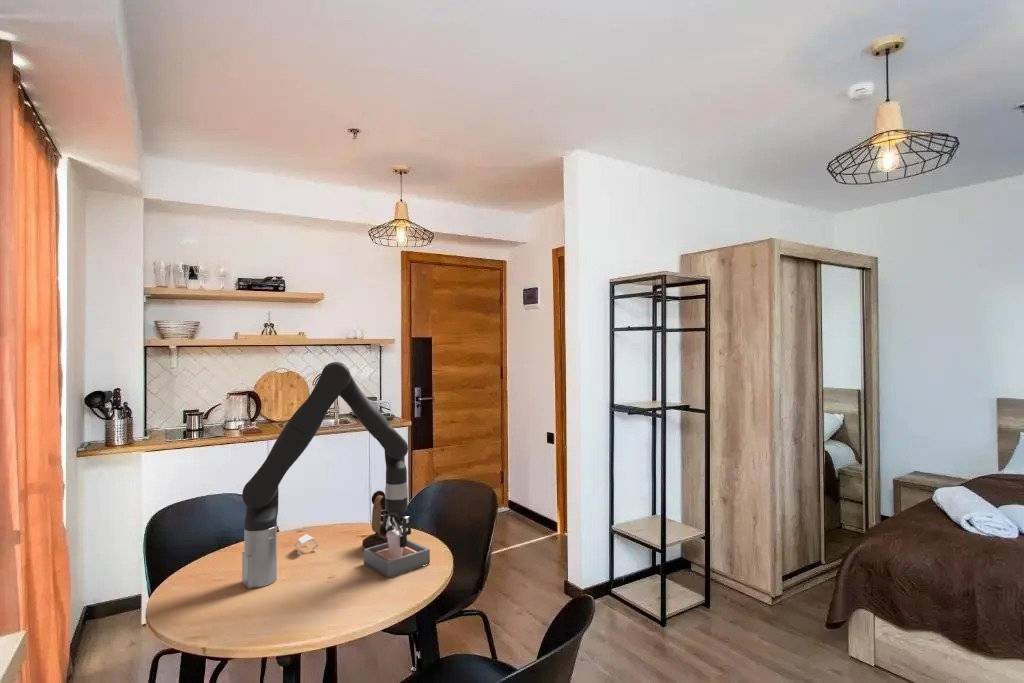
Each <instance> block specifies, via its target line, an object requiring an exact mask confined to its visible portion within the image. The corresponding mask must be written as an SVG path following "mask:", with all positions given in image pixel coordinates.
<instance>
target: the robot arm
mask: <svg viewBox="0 0 1024 683" xmlns="http://www.w3.org/2000/svg"><path fill="white" fill-rule="evenodd" d="M338 397H341V399H342V400H343V401H344V402H345V403H346V404H347V406H348V407H350V409H351V411H352V413H354V415H355V416H356V418H357V419H358V420H359V422H360V423H361V424H362V426H363V427H364V428H365V429H366V431H367V432H368V433H369V434H370V435H371V436H372V437H373V438H374V439H376V440H377V442H378V443H379V444H380V446H382V448H383V451H384V461H385V462H384V463H385V488H384V493H385V510H382V511H383V515H382V516H383V527H385V528H386V530H387V532H388V531H391V530H393V529H392V528H393V527H394V528H395V527H396V529H397V531H399V534H400V547H401V548H403V547H406V546H407V539H408V536H409V535H411V534H412V524H411V520H412V519H411V516H406V514H405V512H406V511H407V510H408V508H409V507H408V506H409V504H408V500H409V499H408V498H409V497H408V496H409V494H408V493H409V492H408V491H409V490H408V478H407V477H408V472H407V466H406V461H405V456H407V454H408V451H409V446H408V445H409V444H408V443H407V441H406V440H405V438H403V436H402V435H401V434H399V433H398V431H397V430H395V428H394V427H393V426H392V425H391V423H390V422H389V420H388V419H387V418H386V417H385V415H384V414H383V413H382V412H381V411H380V410H379V409H378V407H376V405H375V404H374V403H373V402H372V400H370V399H369V398H368V397H367V396H366V395H365V394H364V392H363V391H362V389H360V387H359V386H358V384H357V383H356V381H355V379H354V378H353V376H352V374H351V371H350V369H349V367H348V366H347V365H346V364H344V363H342V362H339V361H333V362H329V363H328V364H327V365H325V366H324V367H323V368H322V371H321V373H320V376H319V378H318V380H317V382H316V384H315V386H314V388H313V390H312V391H311V393H310V395H309V396H308V398H306V400H305V401H304V402H303V403H302V404H301V405H300V406H299V407H298V408H297V410H296V411H294V413H293V414H292V416H291V417H290V418H289V420H288V422H286V424H285V426H284V427H283V429H282V430H281V432H280V434H279V435H278V437H277V439H276V440H275V441H274V444H273V446H272V447H271V449H270V450H269V453H268V455H267V457H266V458H265V460H264V462H263V463H262V465H261V466H260V467H259V468H258V469H257V471H256V472H255V473H254V475H253V476H252V477H251V478H250V480H248V482H246V484H245V485H244V487H243V488H242V495H241V498H242V501H243V503H244V504H245V505H246V512H245V513H246V515H245V518H244V522H243V523H244V526H243V527H244V528H243V529H244V531H243V532H244V537H243V539H244V540H243V541H244V544H243V545H244V548H243V549H244V550H243V551H242V553H241V564H242V565H241V571H242V572H241V583H242V584H243V586H244V587H246V589H254V588H262V587H266V586H269V585H271V584H273V583H274V582H276V581H277V578H278V575H277V574H278V571H277V570H278V568H277V567H278V566H277V565H278V564H277V562H278V561H277V560H278V558H277V556H278V555H277V554H278V553H277V552H278V551H277V550H278V549H277V546H278V543H277V542H278V541H277V539H278V536H277V534H278V532H277V531H278V529H277V528H278V526H277V525H278V522H277V521H278V515H279V485H280V484H281V482H282V480H283V478H284V477H285V474H286V473H287V472H288V471H289V470H290V468H291V467H292V466H293V464H295V462H296V461H297V460H298V459H299V458H300V456H301V455H302V454H303V453H304V452H305V450H306V449H307V447H308V446H309V445H310V443H311V442H312V440H313V438H314V437H315V435H316V434H317V432H318V431H319V429H320V427H321V425H322V423H323V422H324V419H325V417H326V415H327V413H328V411H329V409H330V408H331V407H332V406H333V404H334V403H335V402H336V400H337V399H338ZM387 519H388V520H387ZM386 520H387V522H386ZM402 530H403V533H402ZM387 541H388V538H387Z"/></svg>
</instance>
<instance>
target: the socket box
mask: <svg viewBox="0 0 1024 683" xmlns="http://www.w3.org/2000/svg"><path fill="white" fill-rule="evenodd" d="M429 563H430V564H431V549H430V548H429V547H426V546H424V545H421V544H419V543H417V542H415V541H413V540H411V539H408V538H407V546H406V547H403V553H402V557H399V558H396V559H392V560H391V559H390V554H389V546H388V543H384V544H381V545H377V546H373V547H370V548H364V549H363V565H364V564H365V565H364V566H366V567H367V568H369V569H371V570H373V571H375V572H376V573H378V574H379V575H381V576H383V577H384V578H386V579H390V578H393V577H396V576H400V575H403V574H405V572H406V573H409V572H411V571H414V570H417V569H419V568H418V567H420V568H422V567H421V566H423V565H426V564H429ZM430 564H429V565H430ZM426 566H427V565H426ZM423 567H424V566H423ZM416 568H417V569H416ZM413 569H414V570H413ZM410 570H411V571H410Z"/></svg>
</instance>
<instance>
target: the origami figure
mask: <svg viewBox="0 0 1024 683" xmlns="http://www.w3.org/2000/svg"><path fill="white" fill-rule="evenodd" d="M311 541H312V542H313V543H314V544H316V545H314V546H313V547H312V549H311V550H312V551H315V552H317V550H315V549H317V548H318V547H319V546H320V544H319V542H318V541H317V540H316V538H315V537H313V536H310V535H309V534H308V533H305V534H303V535H302V536H300V537H299V539H297V541H296V543H295V544H294V547H295V549H296V550H297V555H299V558H301V557H302V556H303V553H301V549H302V547H303V545H305V544H306V545H305V546H306V547H308V548H310V546H309V545H308V543H309V542H311ZM298 543H299V545H300V547H299V548H298V547H297V545H298Z"/></svg>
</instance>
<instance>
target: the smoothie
mask: <svg viewBox="0 0 1024 683" xmlns="http://www.w3.org/2000/svg"><path fill="white" fill-rule="evenodd" d="M402 533H403V529H402ZM386 534H387V535H386V536H387V538H388V546H389V554H390V559H391V560H392V559H396V558H399V557H402V553H403V548H401V547H400V534H399V531H397V529H396V527H395V526H394V530H391V531H388V532H387V533H386Z"/></svg>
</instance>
